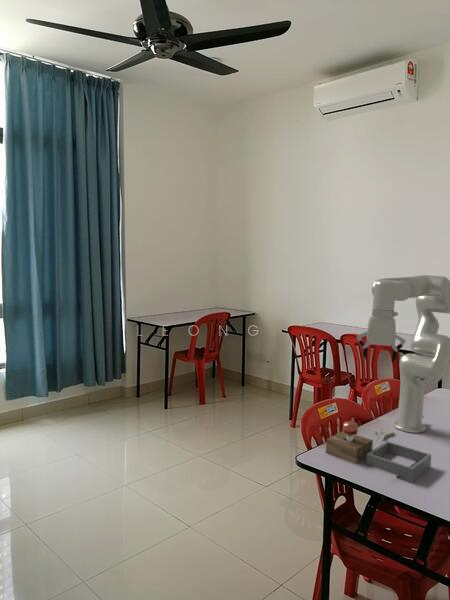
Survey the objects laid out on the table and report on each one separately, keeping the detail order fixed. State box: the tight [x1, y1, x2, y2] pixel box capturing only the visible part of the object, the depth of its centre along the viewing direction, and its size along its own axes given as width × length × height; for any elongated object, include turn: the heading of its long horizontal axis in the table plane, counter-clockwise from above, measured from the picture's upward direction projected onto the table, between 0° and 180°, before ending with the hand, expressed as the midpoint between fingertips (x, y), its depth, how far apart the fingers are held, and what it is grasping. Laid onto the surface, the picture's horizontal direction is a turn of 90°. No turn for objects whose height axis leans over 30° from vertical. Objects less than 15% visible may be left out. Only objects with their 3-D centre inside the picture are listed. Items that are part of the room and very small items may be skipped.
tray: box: [365, 440, 432, 484], centre depth 166 cm, size 16×16×4 cm
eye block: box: [325, 430, 374, 464], centre depth 174 cm, size 12×12×6 cm
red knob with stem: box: [342, 420, 359, 443], centre depth 174 cm, size 5×5×11 cm
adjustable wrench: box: [372, 427, 394, 449], centre depth 189 cm, size 25×6×2 cm, turn 147°
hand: (379, 360), depth 179 cm, fingers open, 9 cm apart
